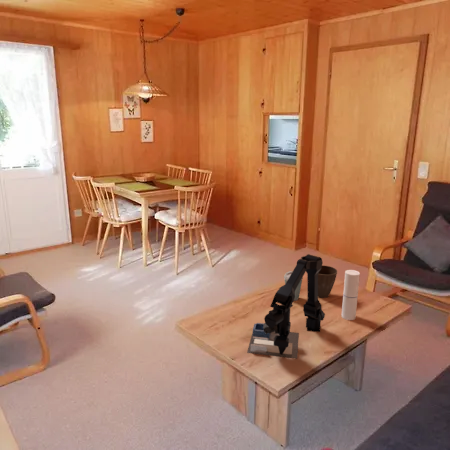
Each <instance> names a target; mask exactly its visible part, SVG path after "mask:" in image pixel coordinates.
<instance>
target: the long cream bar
mask: <svg viewBox="0 0 450 450" xmlns="http://www.w3.org/2000/svg"><path fill="white" fill-rule="evenodd" d="M254 344H255V345H264V346H267V352H275V353H280V352H279V348H278V346H274V341H268V340H259V339H255V340H254ZM283 354H292V343H289V345H288V347H287V348H286V349H285V351H284V353H283Z"/></svg>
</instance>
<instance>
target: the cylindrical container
mask: <svg viewBox="0 0 450 450" xmlns="http://www.w3.org/2000/svg"><path fill="white" fill-rule="evenodd" d="M360 277H361V273H360V271H358V270H355V269H346V270H345V271H344V282H343V283H344V284H343V294H342V304H341V305H342V306H341V315H340V316H341V318H342V319H344V320H347V321H354V320H356V318H357V317H356V315H357V306H358V298H359V297H358V294H359V286H360Z"/></svg>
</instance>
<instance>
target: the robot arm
mask: <svg viewBox="0 0 450 450" xmlns="http://www.w3.org/2000/svg"><path fill="white" fill-rule="evenodd" d="M322 265H323V258H321V256H318V255H317V256H316V255H313V254H309V253H308V254H306V255H303V256H301V257H300V258H299V259H297V262H296V265H295V267H294V269H293V272H292V274H291V275H290V277H289V279H288V281H287V282H286V284H285V283H284V284H283V285H282V286H280V287H279V288H278V290H277V291H276V292H275V294H274V296H273V299H272V301H271V303H270V307H271V308H272V310H269V311H268V313H267V314H266V315H265V316H264V318H263V320H264V325H263V328H264V332H265V334H268V333H272V332H275V333H276V334H278V335H280V336H275V337H274V346H278V348H279V352H280V354H281V355H282V354H283V353H284V351H285V349H286V348H287V347H288V345H289V338H288V335H289V333H290V332H291V308H292V307H293V306H294V305H293V303H294V298H295V290H296V288H297V286H298V284H299V283H300V281H301V279H302V277H303V278H304V275H305V273H306V274H307V275H306V276H307V278H306V280H307V281H306V282H307V300H306V301H305V303H304V304H303V309H302V310H303V315H304V317H306V319H305V320H306V321H305V328H306V331H308V332H318V333H320V332H321V321H324V319H325V316H326V314H325V312H324V310H323V307H322V303H321V302H320V300H319V297H318V272H319V271H320V270H321V268H322ZM302 280H303V279H302Z"/></svg>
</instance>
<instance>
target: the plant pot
mask: <svg viewBox="0 0 450 450" xmlns="http://www.w3.org/2000/svg"><path fill="white" fill-rule="evenodd" d="M337 274H338V270H337V269H336V268H334V267H332V266H329V265H323V264H322V268H321V270H320V271H319V272H318V298H321V299H324V298H325V299H326V298H328V297H329V296H330V294H331V292H332V290H333V288H334V286H335V285H334V284H335V282H336V279H337Z"/></svg>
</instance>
